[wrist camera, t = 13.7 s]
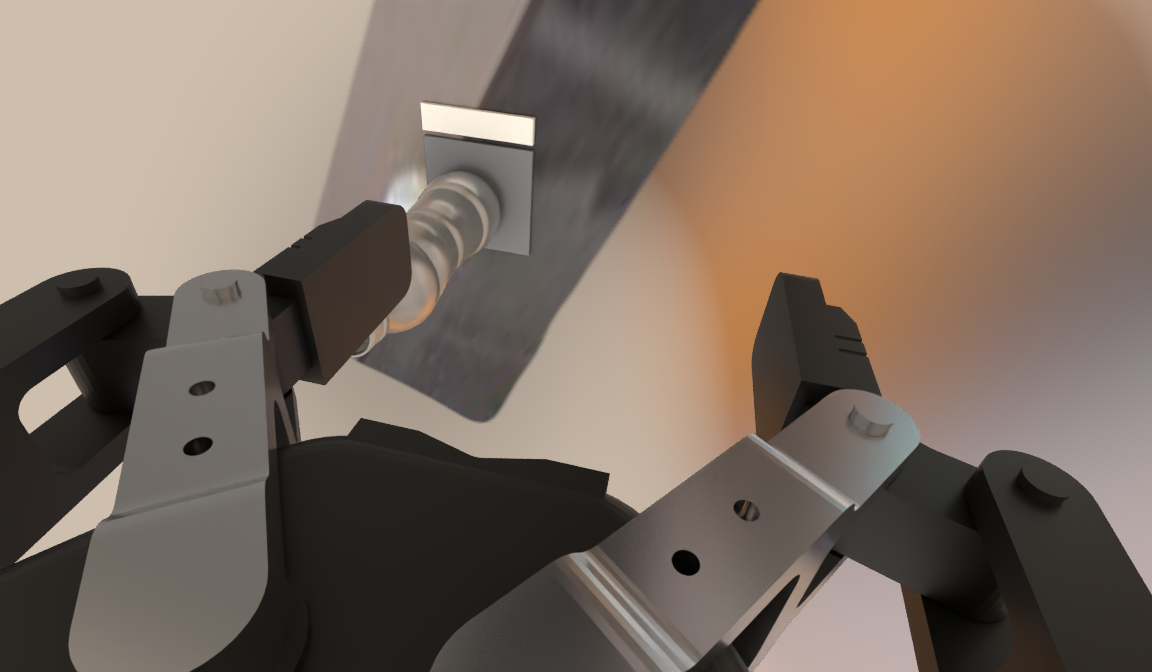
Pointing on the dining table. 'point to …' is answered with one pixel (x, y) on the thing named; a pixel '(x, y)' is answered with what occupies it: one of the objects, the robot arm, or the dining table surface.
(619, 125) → the dining table surface
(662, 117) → the dining table surface
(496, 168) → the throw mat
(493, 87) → the dining table surface
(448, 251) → the plastic bottle
